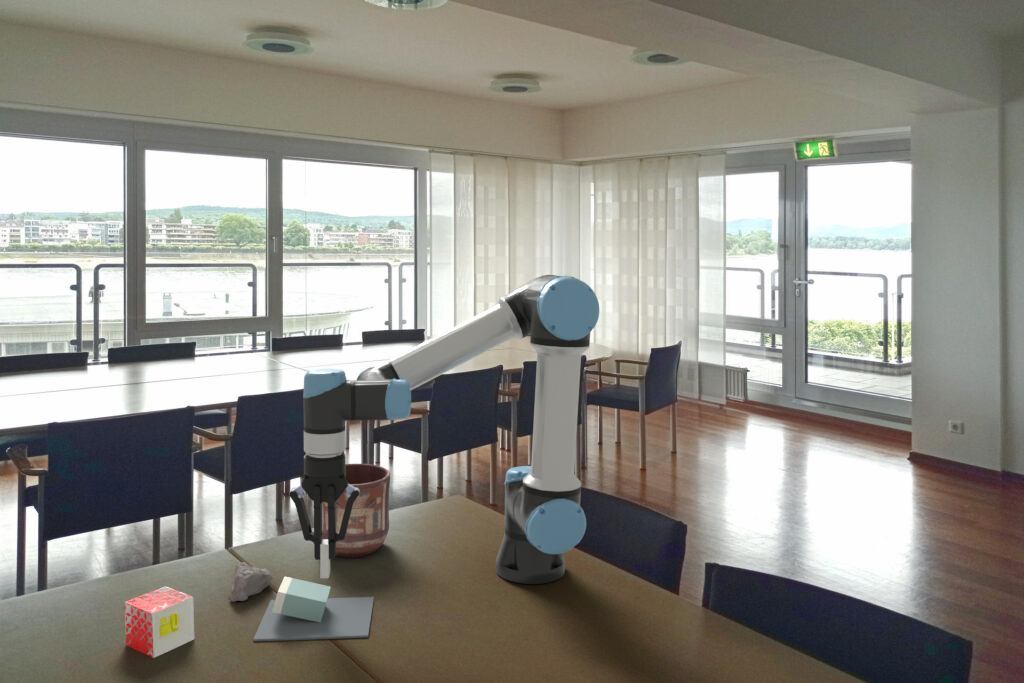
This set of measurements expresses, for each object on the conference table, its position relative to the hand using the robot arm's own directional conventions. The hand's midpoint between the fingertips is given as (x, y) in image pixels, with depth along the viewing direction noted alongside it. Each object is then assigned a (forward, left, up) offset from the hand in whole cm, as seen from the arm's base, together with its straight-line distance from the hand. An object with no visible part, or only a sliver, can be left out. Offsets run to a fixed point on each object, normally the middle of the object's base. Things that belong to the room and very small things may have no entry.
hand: (325, 575), depth 149 cm
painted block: (0, 0, -6) cm, 6 cm away
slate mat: (+1, +1, -8) cm, 8 cm away
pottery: (-2, -35, -8) cm, 36 cm away
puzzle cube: (+27, +8, -8) cm, 30 cm away
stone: (+17, -12, -9) cm, 22 cm away
